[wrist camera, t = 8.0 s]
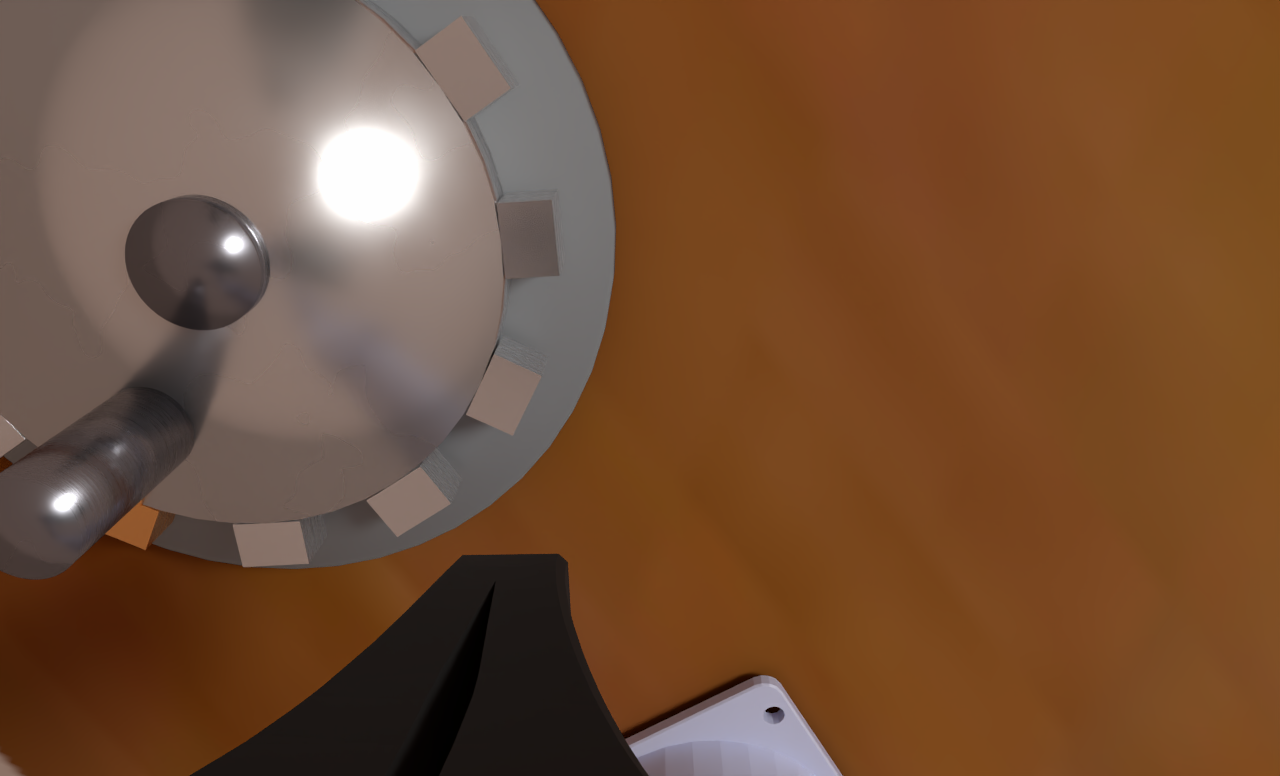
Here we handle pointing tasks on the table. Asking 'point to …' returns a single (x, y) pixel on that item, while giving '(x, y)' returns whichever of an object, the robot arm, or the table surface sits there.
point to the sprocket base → (538, 306)
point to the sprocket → (248, 270)
